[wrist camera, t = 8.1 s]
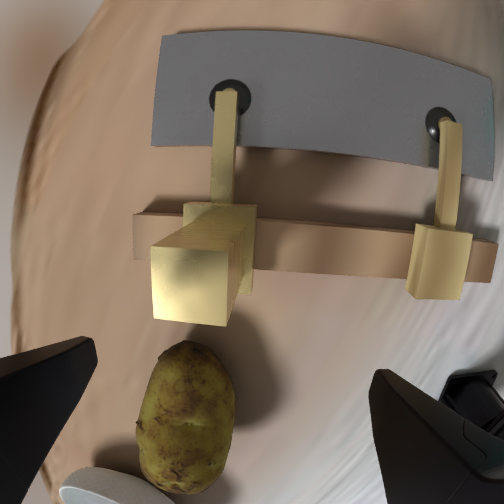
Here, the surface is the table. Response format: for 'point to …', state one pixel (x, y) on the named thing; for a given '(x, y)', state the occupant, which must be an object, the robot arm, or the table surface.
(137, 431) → the potato
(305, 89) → the hole plate
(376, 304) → the table surface
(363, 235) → the rail
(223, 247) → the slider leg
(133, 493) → the cereal bowl
